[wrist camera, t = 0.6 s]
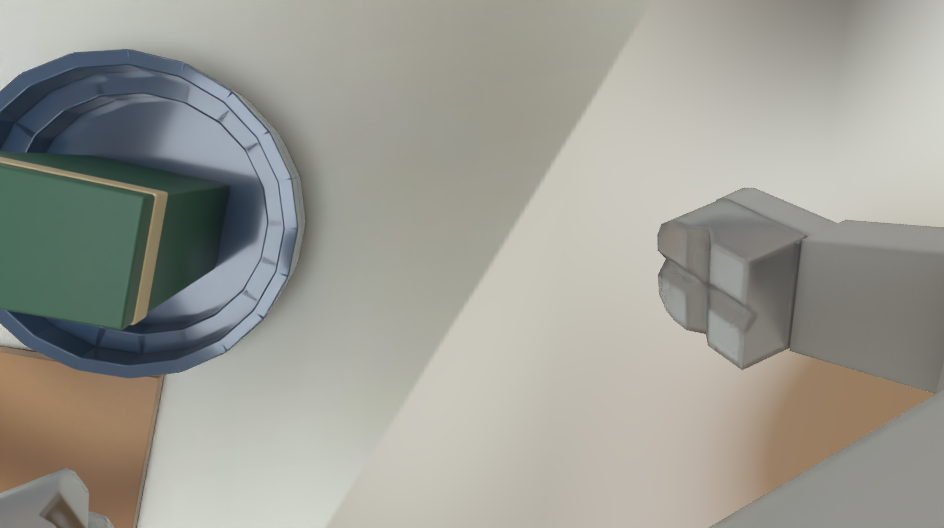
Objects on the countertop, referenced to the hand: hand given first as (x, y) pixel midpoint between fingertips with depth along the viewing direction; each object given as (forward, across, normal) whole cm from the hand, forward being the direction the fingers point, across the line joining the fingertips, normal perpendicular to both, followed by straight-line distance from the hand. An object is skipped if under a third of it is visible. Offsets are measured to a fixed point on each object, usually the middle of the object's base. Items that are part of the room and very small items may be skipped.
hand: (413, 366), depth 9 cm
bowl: (+25, +4, +6) cm, 26 cm away
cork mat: (+24, +13, +15) cm, 31 cm away
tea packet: (+25, +5, +6) cm, 26 cm away
